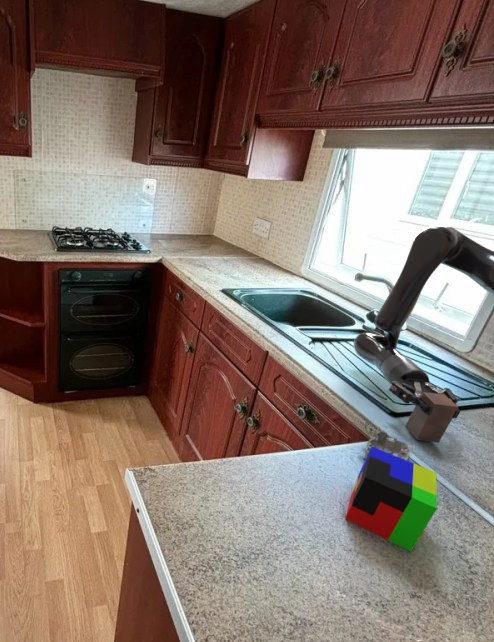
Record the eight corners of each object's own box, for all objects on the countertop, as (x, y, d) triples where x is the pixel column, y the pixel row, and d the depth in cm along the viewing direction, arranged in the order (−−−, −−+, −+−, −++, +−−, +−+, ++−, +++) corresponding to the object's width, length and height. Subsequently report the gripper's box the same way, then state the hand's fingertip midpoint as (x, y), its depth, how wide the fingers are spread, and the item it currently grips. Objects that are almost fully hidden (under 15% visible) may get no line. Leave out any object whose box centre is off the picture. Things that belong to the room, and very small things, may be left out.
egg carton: (371, 438, 94) (378, 424, 92) (408, 456, 89) (416, 441, 87) (358, 459, 86) (365, 444, 85) (397, 479, 82) (406, 464, 80)
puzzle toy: (353, 486, 79) (371, 446, 75) (412, 513, 74) (436, 472, 70) (345, 519, 72) (365, 477, 67) (410, 551, 67) (437, 508, 62)
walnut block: (426, 428, 98) (444, 394, 93) (438, 442, 93) (458, 407, 89) (405, 426, 98) (422, 391, 94) (416, 439, 94) (435, 404, 89)
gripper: (380, 358, 104) (417, 395, 88) (438, 365, 103) (485, 404, 88) (369, 383, 107) (403, 422, 92) (425, 390, 106) (469, 431, 91)
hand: (443, 413), depth 90 cm, fingers closed on walnut block, 5 cm apart
